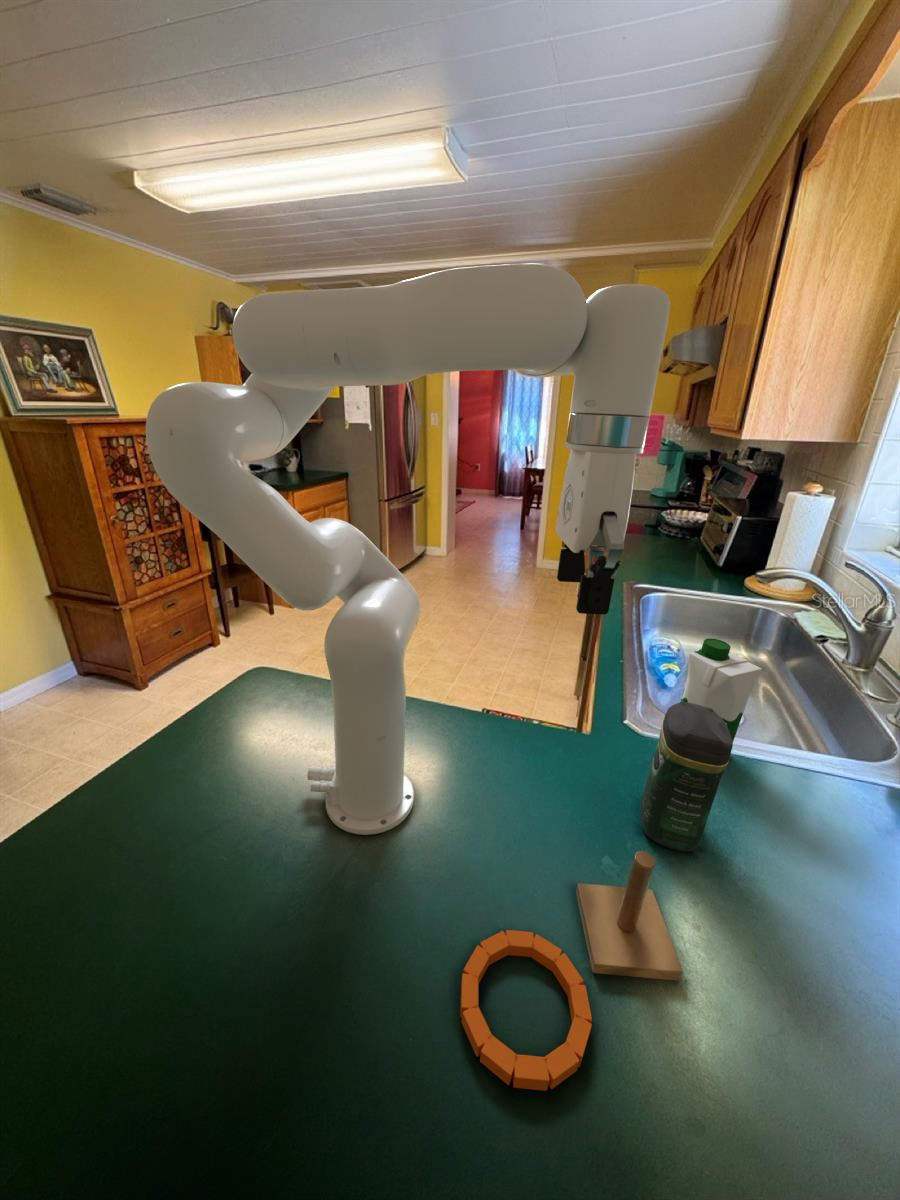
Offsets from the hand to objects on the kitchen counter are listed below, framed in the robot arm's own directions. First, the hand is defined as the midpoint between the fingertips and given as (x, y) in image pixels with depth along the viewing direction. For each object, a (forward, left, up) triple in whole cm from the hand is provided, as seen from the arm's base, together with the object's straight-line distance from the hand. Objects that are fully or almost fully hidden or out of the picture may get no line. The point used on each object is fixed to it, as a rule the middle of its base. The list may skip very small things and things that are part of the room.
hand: (579, 595), depth 53 cm
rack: (+8, -14, -35) cm, 38 cm away
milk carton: (+31, +20, -35) cm, 51 cm away
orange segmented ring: (-4, -22, -35) cm, 41 cm away
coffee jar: (+19, +2, -35) cm, 40 cm away
